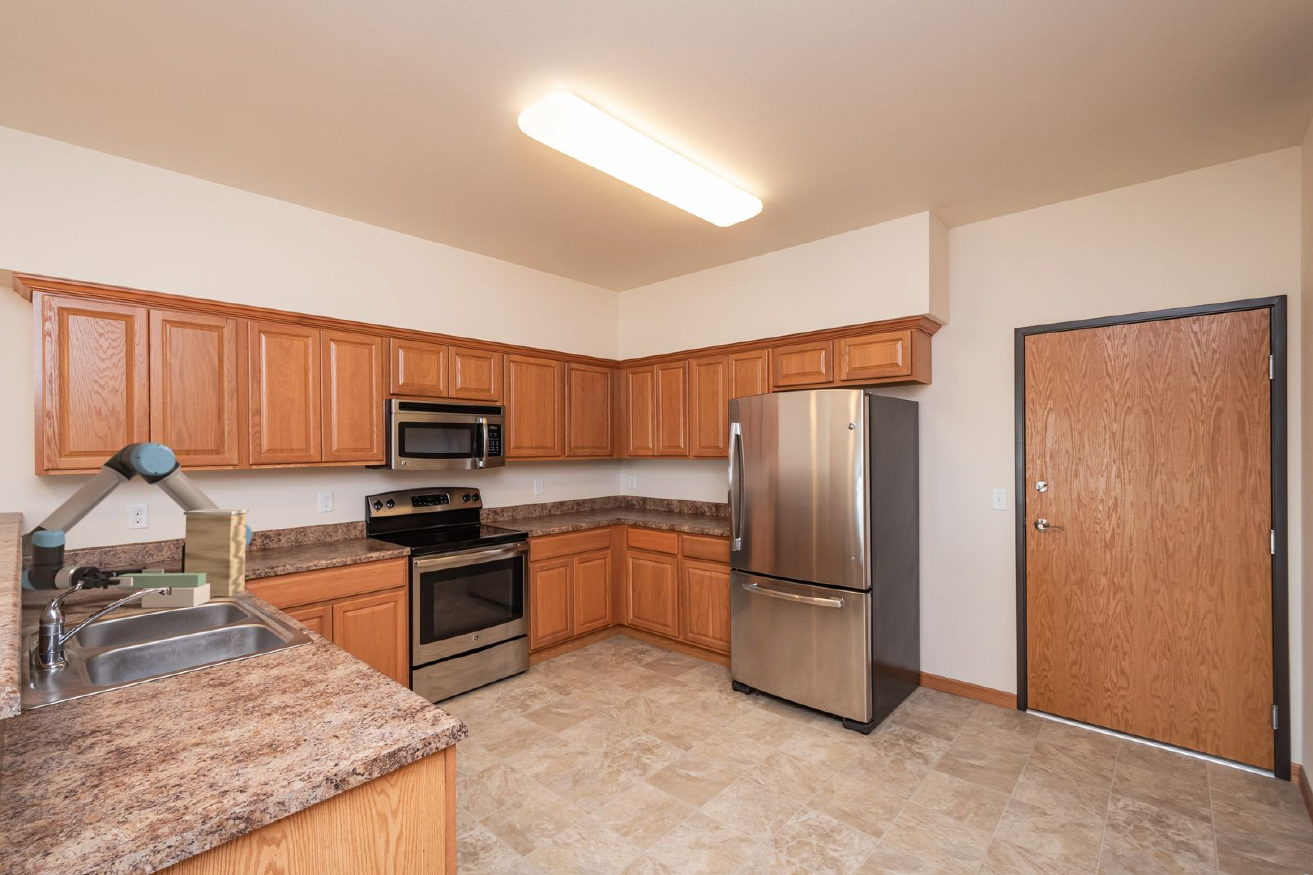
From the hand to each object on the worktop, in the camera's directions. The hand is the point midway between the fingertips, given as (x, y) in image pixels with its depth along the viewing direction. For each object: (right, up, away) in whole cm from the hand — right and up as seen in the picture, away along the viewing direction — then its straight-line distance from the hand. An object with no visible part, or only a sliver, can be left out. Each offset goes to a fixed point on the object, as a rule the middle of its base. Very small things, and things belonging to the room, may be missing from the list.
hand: (148, 577), depth 198 cm
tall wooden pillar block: (+11, -10, +15) cm, 21 cm away
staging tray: (+9, -9, +1) cm, 13 cm away
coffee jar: (-4, -10, +28) cm, 30 cm away
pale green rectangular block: (+5, -3, 0) cm, 5 cm away
